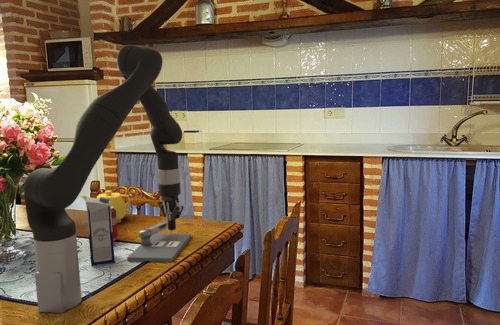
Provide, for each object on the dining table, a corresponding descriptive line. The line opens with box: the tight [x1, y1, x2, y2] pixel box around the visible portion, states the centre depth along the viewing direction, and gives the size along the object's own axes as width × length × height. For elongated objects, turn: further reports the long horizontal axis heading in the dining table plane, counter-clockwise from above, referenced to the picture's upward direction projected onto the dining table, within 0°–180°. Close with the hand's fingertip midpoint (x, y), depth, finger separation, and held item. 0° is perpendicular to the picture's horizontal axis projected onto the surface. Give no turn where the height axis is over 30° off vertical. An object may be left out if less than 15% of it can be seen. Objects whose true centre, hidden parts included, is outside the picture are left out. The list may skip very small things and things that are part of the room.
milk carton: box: [85, 196, 116, 267], centre depth 128 cm, size 7×7×20 cm
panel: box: [126, 232, 193, 263], centre depth 139 cm, size 24×14×4 cm, turn 173°
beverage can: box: [111, 206, 119, 242], centre depth 148 cm, size 6×6×12 cm
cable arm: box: [138, 219, 168, 239], centre depth 144 cm, size 4×15×2 cm, turn 154°
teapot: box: [78, 189, 132, 224], centre depth 173 cm, size 14×20×13 cm
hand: (172, 229), depth 147 cm, fingers closed
